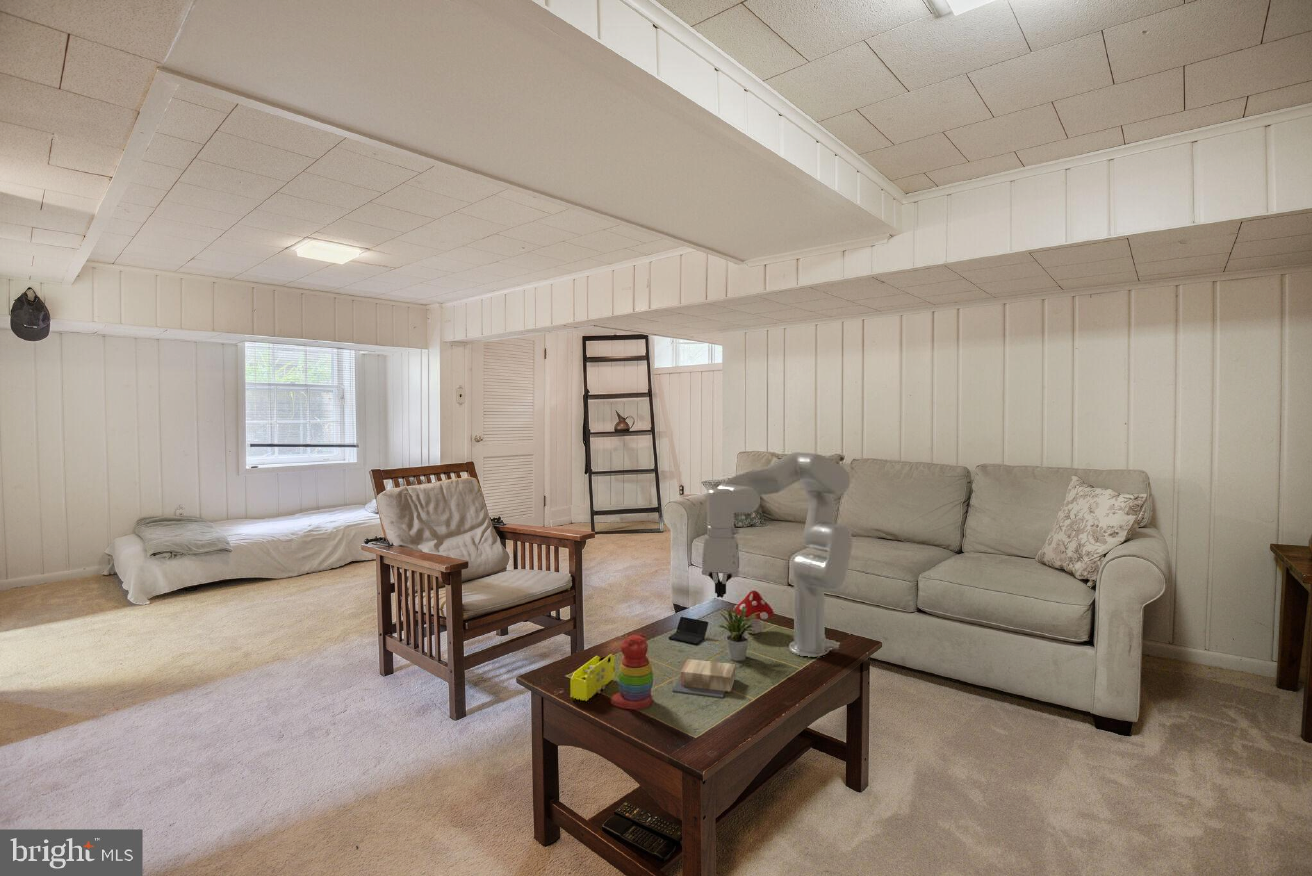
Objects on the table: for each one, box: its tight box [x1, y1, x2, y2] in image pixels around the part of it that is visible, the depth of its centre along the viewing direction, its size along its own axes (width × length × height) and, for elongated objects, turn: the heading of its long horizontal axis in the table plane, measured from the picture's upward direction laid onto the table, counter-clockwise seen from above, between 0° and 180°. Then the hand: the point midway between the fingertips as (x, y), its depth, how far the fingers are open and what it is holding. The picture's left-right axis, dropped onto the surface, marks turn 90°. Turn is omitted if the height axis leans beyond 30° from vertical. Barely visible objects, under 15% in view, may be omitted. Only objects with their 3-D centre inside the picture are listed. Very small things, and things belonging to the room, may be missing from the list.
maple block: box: [680, 658, 736, 693], centre depth 175 cm, size 4×9×14 cm
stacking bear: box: [609, 633, 654, 710], centre depth 164 cm, size 11×10×18 cm
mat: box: [672, 675, 726, 699], centre depth 175 cm, size 14×16×1 cm
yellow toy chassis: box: [569, 653, 616, 702], centre depth 171 cm, size 16×6×8 cm, turn 156°
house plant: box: [717, 606, 760, 662], centre depth 191 cm, size 14×14×16 cm
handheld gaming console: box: [668, 616, 709, 646], centre depth 209 cm, size 12×7×10 cm
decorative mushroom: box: [732, 590, 775, 635], centre depth 214 cm, size 14×14×15 cm
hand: (720, 596), depth 174 cm, fingers closed
